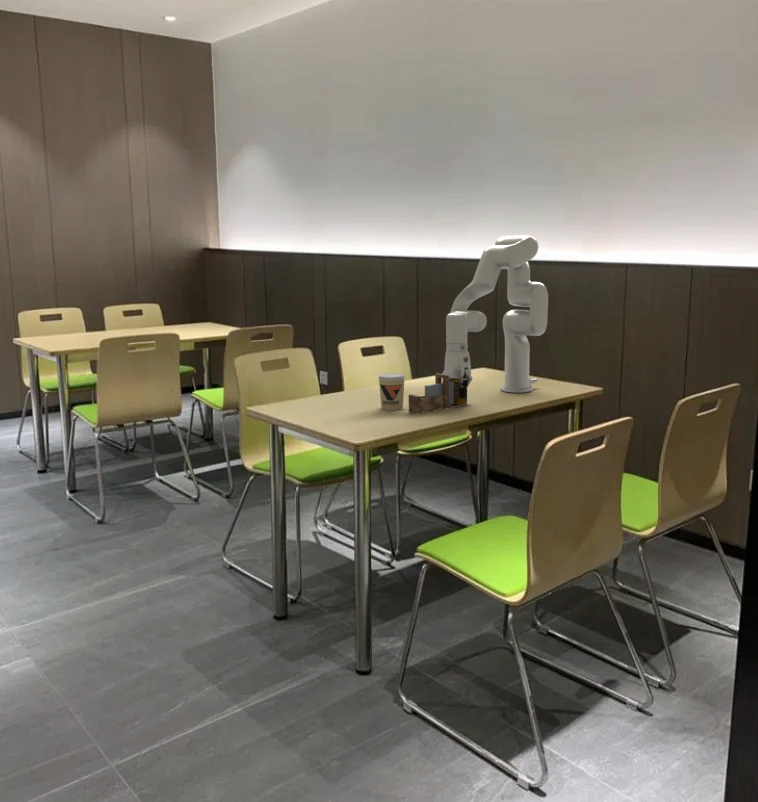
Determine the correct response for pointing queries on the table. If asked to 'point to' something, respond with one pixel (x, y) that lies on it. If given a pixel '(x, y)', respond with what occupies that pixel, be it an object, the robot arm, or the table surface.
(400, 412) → the table surface
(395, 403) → the coffee cup
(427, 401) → the brown l-shaped block
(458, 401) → the condiment
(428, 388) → the gate
